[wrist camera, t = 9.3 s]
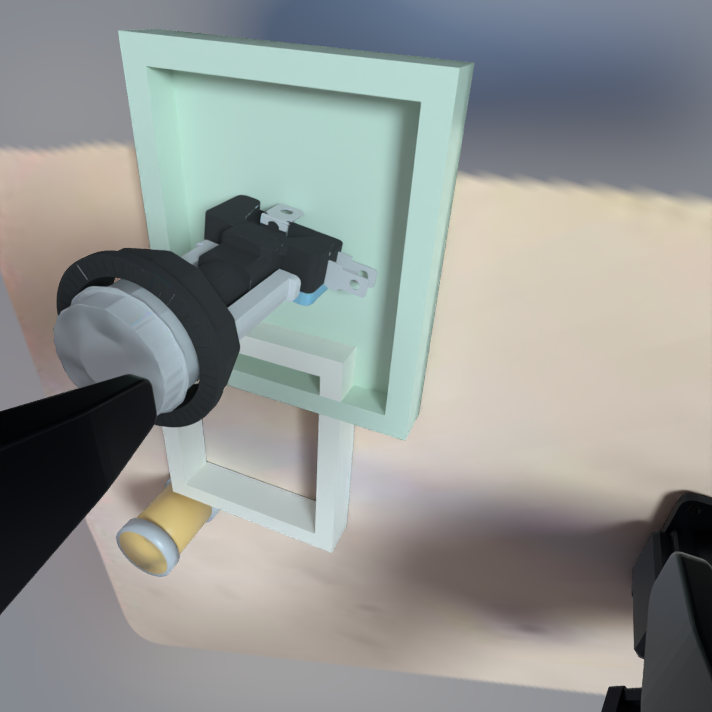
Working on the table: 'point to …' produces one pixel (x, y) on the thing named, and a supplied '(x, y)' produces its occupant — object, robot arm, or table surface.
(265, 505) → the pale rectangular frame
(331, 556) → the table surface
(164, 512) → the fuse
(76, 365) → the push button
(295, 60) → the parts tray
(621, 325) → the table surface
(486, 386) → the table surface
